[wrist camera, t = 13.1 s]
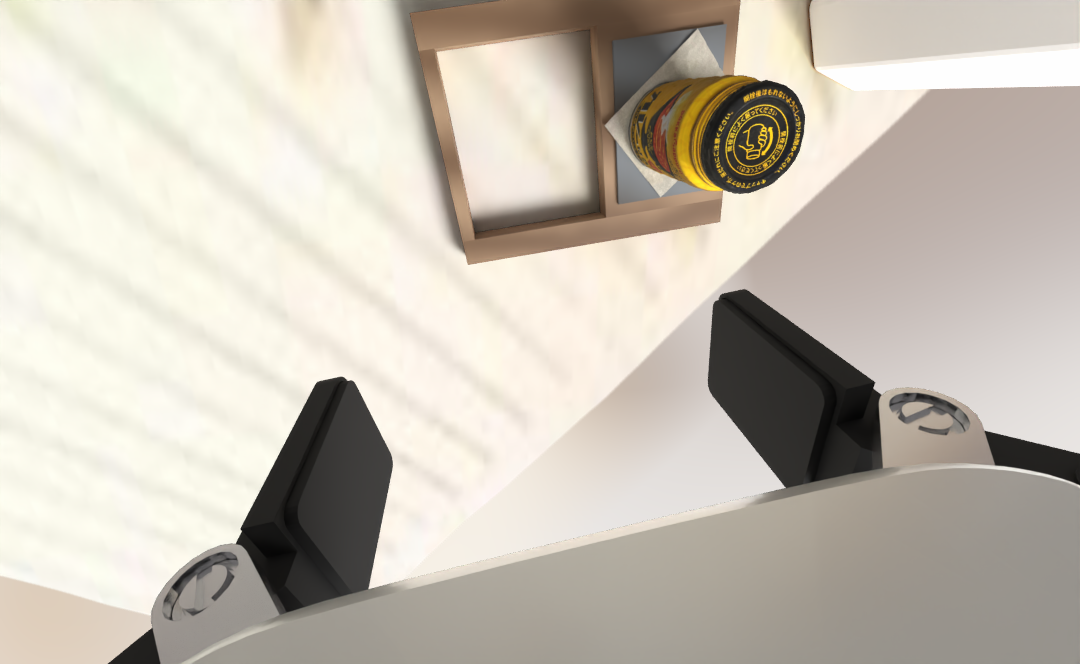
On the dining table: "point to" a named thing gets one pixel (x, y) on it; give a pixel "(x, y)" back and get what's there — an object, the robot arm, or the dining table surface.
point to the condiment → (709, 125)
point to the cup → (946, 43)
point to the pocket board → (618, 73)
